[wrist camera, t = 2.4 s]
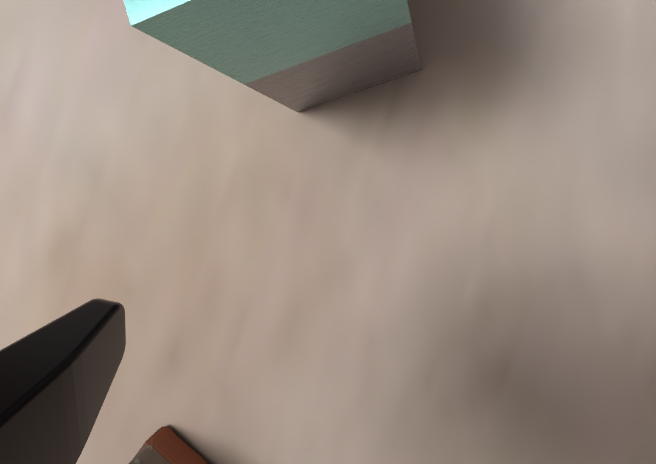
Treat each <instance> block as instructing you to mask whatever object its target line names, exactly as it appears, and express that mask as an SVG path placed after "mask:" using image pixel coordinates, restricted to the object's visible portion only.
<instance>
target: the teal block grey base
mask: <svg viewBox="0 0 656 464" xmlns="http://www.w3.org/2000/svg"><path fill="white" fill-rule="evenodd" d="M124 4H125V7H126V10H127V14H128V17H129V21H130V24H131V26H133V27H134V28H136V29H138V30H140V31H142V32H144V33H146V34H148V35H150V36H152V37H154V38H156V39H158V40H160V41H161V42H163V43H165V44H167V45H169V46H171V47H173V48H175V49H177V50H179V51H181V52H183V53H185V54H187V55H188V56H190V57H192V58H194V59H196V60H198V61H200V62H202V63H204V64H206V65H208V66H210V67H212V68H214V69H215V70H217V71H219V72H221V73H223V74H225V75H227V76H229V77H231V78H233V79H235V80H237V81H239V82H241V83H242V84H244V85H246V86H248V87H250V88H252V89H254V90H256V91H258V92H260V93H262V94H264V95H266V96H267V97H269V98H271V99H273V100H275V101H277V102H279V103H281V104H283V105H285V106H287V107H289V108H291V109H293V110H294V111H296V112H300V111H303V110H306V109H309V108H312V107H314V106H317V105H320V104H323V103H326V102H329V101H332V100H335V99H338V98H340V97H343V96H346V95H349V94H352V93H355V92H358V91H361V90H364V89H367V88H369V87H372V86H375V85H378V84H381V83H384V82H387V81H390V80H393V79H395V78H398V77H401V76H404V75H407V74H410V73H413V72H416V71H419V70H421V69H422V66H421V62H420V57H419V52H418V48H417V43H416V39H415V34H414V30H413V25H412V20H411V16H410V11H409V7H408V2H407V0H124Z"/></svg>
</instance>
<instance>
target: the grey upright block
mask: <svg viewBox="0 0 656 464" xmlns="http://www.w3.org/2000/svg"><path fill="white" fill-rule="evenodd" d="M129 464H208V463H207V462H206V461H205V460H204V459H203V458H202V457H201V456H200V455H199V454H197V453H196V452H195V451H194V450H192V449H191V448H190V447H189V446H188V445H187V444H186V443H185V442H184V441H182V440H181V439H180V438H179V437H177V435H176V434H175V433H174V432H173V431H172V430H171V429H169V428H167V427H165V426H164V427H161V428H160V429H158V430H157V431H156V432H155V433H154V434H153V435H152V436H151V437H150V438H149V439H148V440H147V441H146V442H145V443H144V445H143V446H142V448H141V449H140V450H139V452H138V453H137V454H136V456H135V457H134V458H133V460H132V461H131V462H130V463H129Z"/></svg>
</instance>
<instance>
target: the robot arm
mask: <svg viewBox="0 0 656 464" xmlns="http://www.w3.org/2000/svg"><path fill="white" fill-rule="evenodd" d="M125 345H126V335H125V310H124V307H123V305H122V304H120V303H118V302H113V301H108V300H104V299H93V300H91V301H89V302H87V303H85V304H83V305H81V306H80V307H78V308H76V309H74V310H72V311H71V312H69V313H67V314H65V315H63V316H62V317H60V318H58V319H56V320H54V321H52V322H51V323H49V324H47V325H45V326H43V327H42V328H40V329H38V330H36V331H34V332H33V333H31V334H29V335H27V336H25V337H24V338H22V339H20V340H18V341H16V342H15V343H13V344H11V345H9V346H7V347H5V348H4V349H2V350H0V464H76V462H77V460H78V458H79V456H80V454H81V452H82V450H83V448H84V446H85V444H86V441H87V439H88V437H89V435H90V432H91V430H92V428H93V425H94V423H95V421H96V418H97V416H98V414H99V411H100V409H101V407H102V404H103V402H104V400H105V397H106V395H107V393H108V390H109V388H110V386H111V383H112V381H113V379H114V376H115V374H116V372H117V369H118V367H119V365H120V362H121V360H122V357H123V354H124V351H125Z"/></svg>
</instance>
